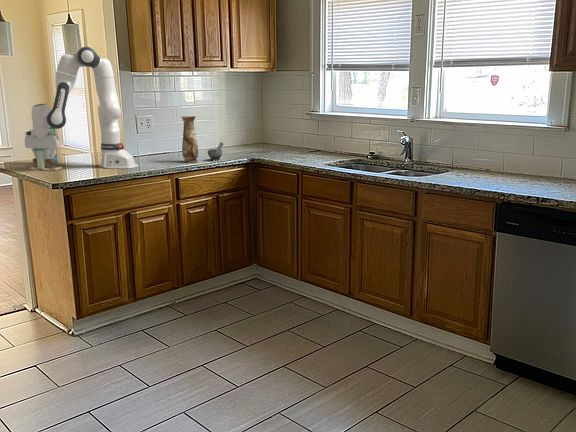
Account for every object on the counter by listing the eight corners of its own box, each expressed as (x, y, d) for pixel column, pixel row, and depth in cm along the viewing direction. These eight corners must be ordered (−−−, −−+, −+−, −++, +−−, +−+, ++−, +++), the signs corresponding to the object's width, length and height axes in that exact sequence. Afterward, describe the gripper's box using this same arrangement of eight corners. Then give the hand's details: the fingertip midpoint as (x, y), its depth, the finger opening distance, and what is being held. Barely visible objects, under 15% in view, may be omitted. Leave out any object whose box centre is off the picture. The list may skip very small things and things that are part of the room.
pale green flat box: (46, 166, 339) (45, 149, 337) (51, 166, 338) (49, 149, 336) (37, 168, 330) (36, 151, 328) (42, 168, 330) (41, 151, 327)
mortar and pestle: (211, 161, 374) (211, 143, 371) (205, 160, 382) (205, 142, 379) (226, 160, 380) (226, 142, 377) (220, 158, 388) (220, 141, 385)
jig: (62, 168, 337) (61, 158, 335) (55, 170, 330) (54, 160, 329) (33, 167, 339) (32, 157, 338) (26, 169, 332) (25, 159, 331)
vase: (200, 162, 369) (199, 115, 362) (184, 163, 364) (183, 116, 357) (195, 160, 378) (194, 114, 371) (179, 161, 373) (178, 115, 366)
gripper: (61, 132, 331) (63, 156, 334) (28, 131, 334) (30, 154, 337) (55, 133, 325) (57, 157, 328) (22, 132, 328) (24, 156, 331)
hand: (43, 156), depth 333 cm, fingers open, 8 cm apart
